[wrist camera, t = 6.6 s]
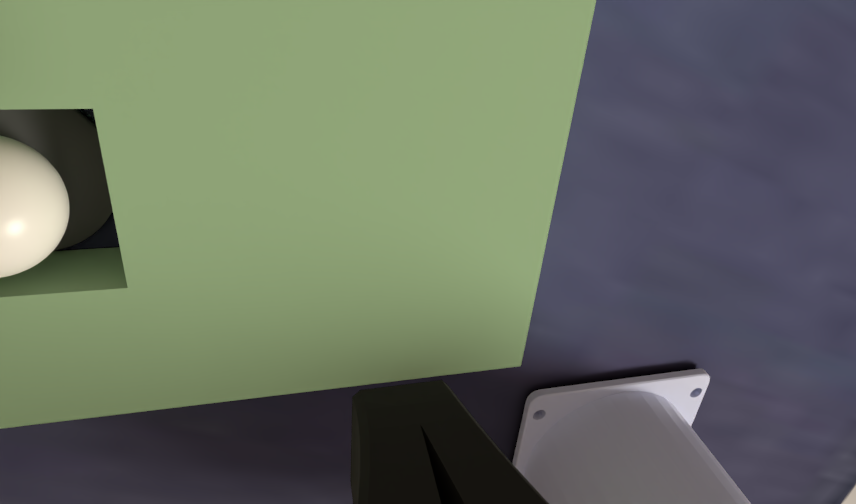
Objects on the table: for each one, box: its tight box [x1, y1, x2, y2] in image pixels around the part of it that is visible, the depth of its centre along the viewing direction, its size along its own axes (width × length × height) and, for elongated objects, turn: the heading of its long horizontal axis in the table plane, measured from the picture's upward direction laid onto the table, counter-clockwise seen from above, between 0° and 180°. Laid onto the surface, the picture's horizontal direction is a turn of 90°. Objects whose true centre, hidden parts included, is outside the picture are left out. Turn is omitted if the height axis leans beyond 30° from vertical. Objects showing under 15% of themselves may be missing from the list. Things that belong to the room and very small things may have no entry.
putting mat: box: [0, 0, 596, 429], centre depth 16 cm, size 13×18×2 cm
